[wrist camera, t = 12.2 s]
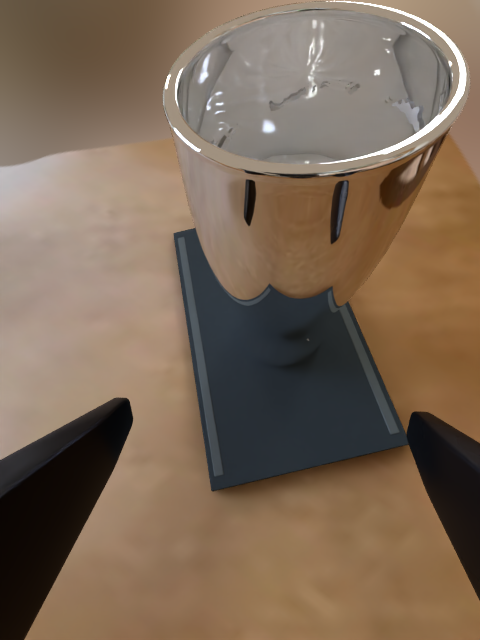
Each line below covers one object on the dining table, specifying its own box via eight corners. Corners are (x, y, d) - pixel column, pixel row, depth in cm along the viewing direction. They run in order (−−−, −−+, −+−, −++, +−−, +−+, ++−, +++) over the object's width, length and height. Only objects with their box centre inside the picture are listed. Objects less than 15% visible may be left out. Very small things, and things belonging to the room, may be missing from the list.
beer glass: (221, 362, 19) (102, 167, 5) (243, 278, 22) (200, -1, 8) (323, 383, 18) (508, 200, 4) (333, 291, 20) (469, -10, 7)
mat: (406, 444, 16) (411, 444, 16) (213, 490, 16) (211, 491, 16) (304, 206, 25) (305, 201, 24) (175, 236, 25) (173, 232, 24)
